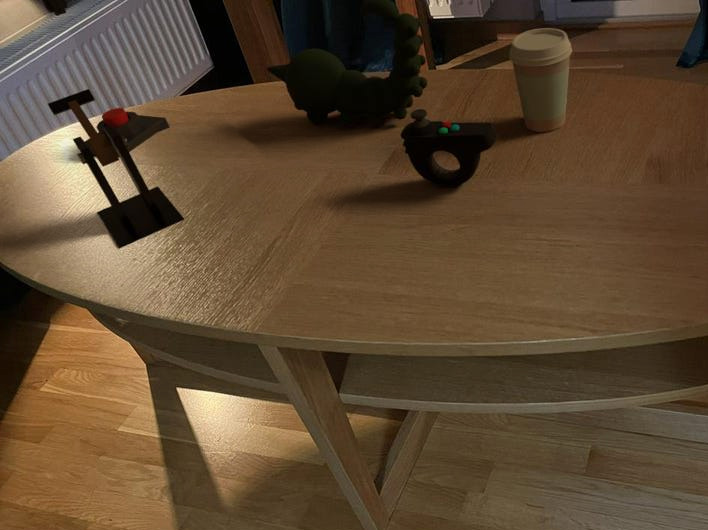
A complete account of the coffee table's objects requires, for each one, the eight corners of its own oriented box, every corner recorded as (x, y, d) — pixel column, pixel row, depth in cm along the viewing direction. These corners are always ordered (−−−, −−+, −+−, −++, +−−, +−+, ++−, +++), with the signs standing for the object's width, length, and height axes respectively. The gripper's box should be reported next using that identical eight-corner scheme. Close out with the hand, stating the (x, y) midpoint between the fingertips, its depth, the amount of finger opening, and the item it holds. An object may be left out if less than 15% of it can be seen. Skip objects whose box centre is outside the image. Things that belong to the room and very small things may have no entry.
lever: (53, 113, 94) (44, 98, 92) (93, 98, 96) (85, 83, 94) (90, 172, 89) (81, 157, 87) (132, 155, 91) (125, 140, 89)
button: (118, 129, 112) (112, 119, 111) (102, 127, 114) (96, 117, 112) (134, 118, 114) (128, 108, 113) (118, 117, 116) (113, 107, 115)
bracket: (100, 219, 100) (50, 135, 91) (161, 193, 103) (118, 110, 94) (123, 254, 92) (70, 167, 83) (187, 225, 95) (143, 138, 86)
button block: (124, 163, 111) (112, 139, 109) (85, 157, 115) (72, 135, 112) (171, 129, 118) (160, 107, 115) (132, 125, 122) (121, 103, 119)
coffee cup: (586, 123, 101) (584, 37, 92) (535, 143, 99) (528, 57, 90) (554, 103, 107) (549, 21, 98) (505, 121, 104) (496, 39, 96)
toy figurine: (436, 113, 113) (291, 106, 117) (424, -13, 100) (261, -17, 104) (421, 142, 107) (268, 133, 111) (407, 11, 93) (233, 6, 97)
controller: (418, 174, 97) (403, 104, 90) (504, 175, 94) (496, 103, 87) (408, 191, 94) (392, 120, 87) (497, 192, 91) (488, 119, 84)
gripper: (-66, -112, 85) (18, 34, 97) (44, -139, 90) (111, 4, 102) (-72, -118, 90) (9, 22, 102) (33, -143, 95) (99, -6, 107)
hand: (60, 13), depth 102 cm, fingers closed
